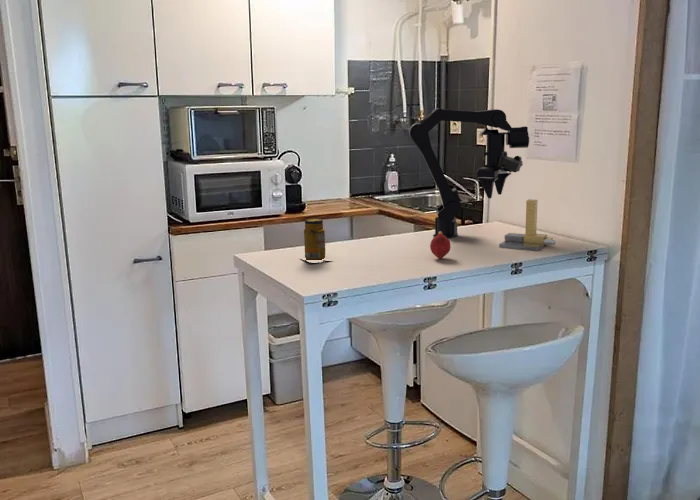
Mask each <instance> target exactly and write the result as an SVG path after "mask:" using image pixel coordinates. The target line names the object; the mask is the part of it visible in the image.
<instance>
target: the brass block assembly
mask: <svg viewBox="0 0 700 500" xmlns="http://www.w3.org/2000/svg"><path fill="white" fill-rule="evenodd" d="M525 203H526V205H525V208H526V209H525V233H524V234H525V235H524V241H523V243H529V244H540V245H543V246H542V249H543V248H544V247H545V246H547V245H546V244H544V239H549V240H554V237H548V234H547V233H546V234H545V233H537V230H538V229H537V227H538V226H537V223H538V199H527V200H526V202H525Z"/></svg>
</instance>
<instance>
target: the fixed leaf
mask: <svg viewBox="0 0 700 500" xmlns="http://www.w3.org/2000/svg"><path fill="white" fill-rule="evenodd" d="M524 235H525V233H516V232H508V233H507V234H504V240H503V241H502V242H500V243H499V244H498V248H501V249H511V250H513V249H514V250H526V251H533V252H539V251H540V250H541V249H543V248H542V246H543V245H540V244H529V243H523V241H524ZM544 244H546V245H545V246H556V239H553V240H549V239H544Z"/></svg>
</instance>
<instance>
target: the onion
mask: <svg viewBox="0 0 700 500" xmlns="http://www.w3.org/2000/svg"><path fill="white" fill-rule="evenodd" d="M429 247H430V248H429V249H430V251H431V254H432V255H434V256H435V257H436V258H437V259H439V260H440V259H441V260H442V259H443V258H444V257H445V256H447V255H448V254H449V253H450V250H451V247H452V246H451V242H450V239H448V238H447V237H445V236H444V235H443V234H442V232H441V231H440V232H439V233H438V235H437V236H435V237H434V236H433V238H432V239H431V241H430V245H429Z"/></svg>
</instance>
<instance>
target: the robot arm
mask: <svg viewBox="0 0 700 500" xmlns="http://www.w3.org/2000/svg"><path fill="white" fill-rule="evenodd" d="M441 121H442V122H457V123H458V122H459V123H471V124H472V123H473V124H479V125H483V126H485V127H484V129H483V130H482V131H481V132H480V135H482V136H486V151H485V152H484V154H483V155H484V156H486V163H485V164H484V166H483V167H478V169H477V170H476V171H475V178H477V180H478V181H479V182H480V185H481V186H482V188H483V190H484V192H485V194H486V197H487V199H492V197H493V191H494V186H495V189H496V190H495V191H496V192H497V194H498V195H502V193H503V191H504V186H505V183H506V180H507V178H508V177H509V176H511V175H512V173H517V172H520V169H521V168H522V166H523V165H524V164H523V161H522V156H521V155H520V156H519V155H515V156H514V157H510V156H508V152H507V151H506V150H505V145H506V146H508V147H509V149H525V148H527V149H528V147H529V145H530V136H529V135H530V134H529V131H528V128H529V127H528V126H517V127H512V126H511V124H510V123H509V122H508V121H507V115H506V112H505V111H503V110H502V109H497V108H496V109H495V108H493V109H486V110H485V109H484V110H477V111H473V110H460V109H459V110H457V109H445V108H444V109H442V108H439V107H438V108H434V109H433V110H432V112H430V114H429V115H427V116H426V117H425V118H424V119H422V120H421V121H420V122H415V123H413V124H412V125H411V126H410V127H409V131H408V134H409V137H410V138H411V139H412V141H413V142H414V144H415V145H416V146H417V148H418V149H419V151H420V152H421V154H422V156H423V159H424V162H425V163H426V165H427V167H428V170H429V172H430V174H431V176H432V178H433V181H434V183H435V185H436V187H437V189H438V194H439V198H440V201H441V204H440V205H439V206H438V207H437V208H435V213H436V215H437V216H436V217H434V224H435V225H434V234H432V237H433V238H434V237H435V236H437V235H438V233H439V232H440V231H441V232H442V234H443V235H444V236H445V237H447V238H449V239H450V238H454V237H455V236H458V235H459V233H458V221H457V217H456V215H457V214H458V213H459V212H460V211H461V209H462V203H461V202H462V201H463V200H462V199H461V197H460V196H459V195H460V194H459V192H458V189H457V188H456V187H453V188H451V186H450V185H449V183H448V181H447V179H446V176H445V174H444V171H443V169H442V167H441V165H440V163H439V161H438V159H437V156H436V154H435V152H434V150H433V148H432V144H431V139H430V135H429V132H431V130H432V129H433V128H435V127H436V126H437V125H438V124H439V122H441ZM486 126H487V127H486ZM488 127H492V128H496V129H492V128H491V129H489V128H488ZM497 128H498V129H497ZM499 129H500V130H501V131H503V132H499ZM505 131H506V132H505Z"/></svg>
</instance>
